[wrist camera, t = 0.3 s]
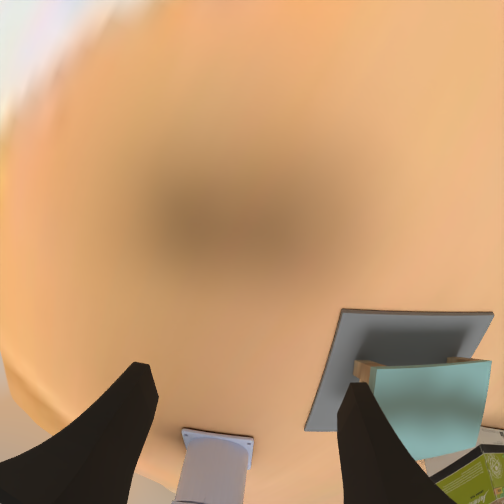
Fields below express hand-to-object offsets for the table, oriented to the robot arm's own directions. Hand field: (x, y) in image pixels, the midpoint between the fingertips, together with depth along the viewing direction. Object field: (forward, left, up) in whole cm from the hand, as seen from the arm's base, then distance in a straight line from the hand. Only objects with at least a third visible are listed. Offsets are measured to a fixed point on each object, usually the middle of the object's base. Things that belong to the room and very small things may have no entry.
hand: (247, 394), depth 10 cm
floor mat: (-11, -13, -10) cm, 20 cm away
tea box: (-30, -35, -10) cm, 47 cm away
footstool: (-10, -13, -7) cm, 18 cm away
